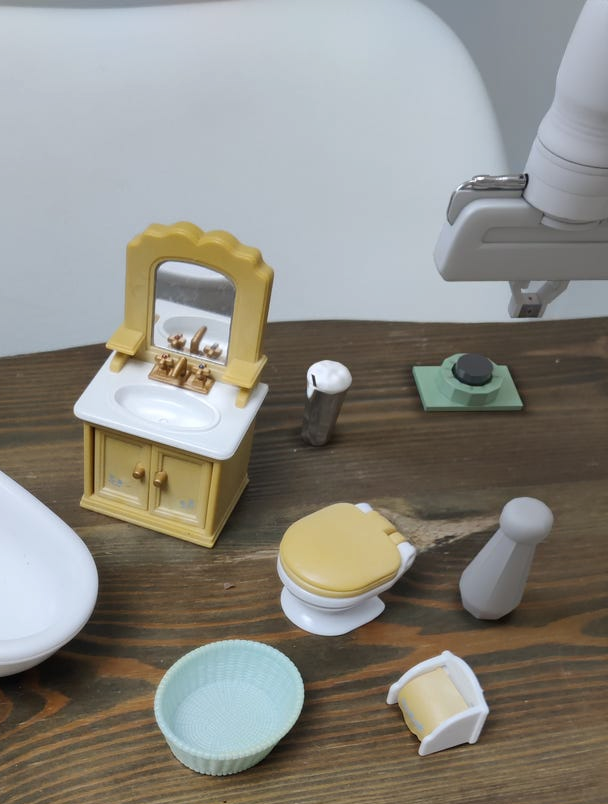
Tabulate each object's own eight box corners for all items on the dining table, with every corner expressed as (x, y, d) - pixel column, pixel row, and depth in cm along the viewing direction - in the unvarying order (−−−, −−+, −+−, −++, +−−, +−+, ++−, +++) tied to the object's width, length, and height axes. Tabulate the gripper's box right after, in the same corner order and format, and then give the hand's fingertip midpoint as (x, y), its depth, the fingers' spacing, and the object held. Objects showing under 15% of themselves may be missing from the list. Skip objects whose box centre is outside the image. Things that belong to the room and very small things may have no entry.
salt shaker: (450, 620, 93) (495, 527, 82) (453, 575, 96) (497, 480, 86) (513, 633, 92) (567, 541, 82) (514, 587, 95) (565, 492, 85)
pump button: (484, 364, 112) (488, 353, 111) (493, 387, 110) (497, 376, 108) (449, 364, 112) (453, 353, 110) (457, 387, 109) (462, 376, 108)
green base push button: (504, 370, 115) (511, 352, 113) (521, 410, 111) (528, 393, 108) (411, 371, 114) (417, 353, 112) (425, 411, 110) (431, 394, 108)
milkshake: (281, 437, 107) (295, 363, 99) (313, 416, 109) (330, 341, 101) (312, 459, 105) (329, 385, 97) (344, 437, 107) (364, 363, 99)
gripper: (465, 196, 81) (423, 336, 92) (709, 194, 81) (638, 333, 93) (448, 156, 85) (410, 295, 96) (682, 154, 85) (616, 293, 96)
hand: (523, 314), depth 94 cm, fingers closed
